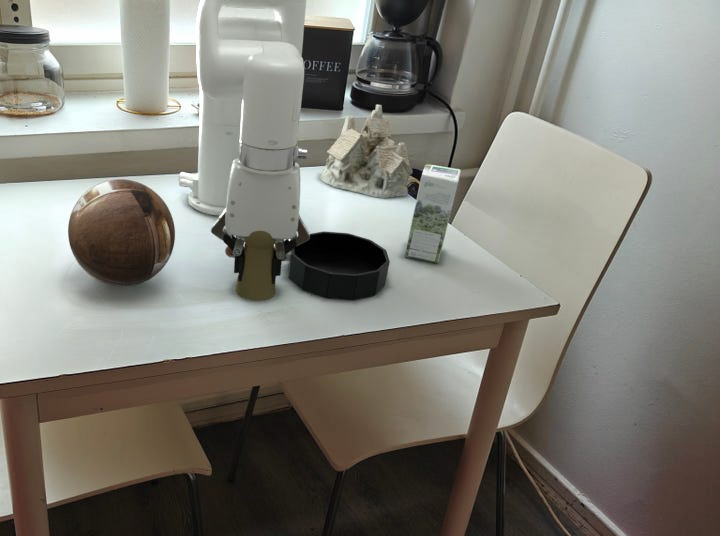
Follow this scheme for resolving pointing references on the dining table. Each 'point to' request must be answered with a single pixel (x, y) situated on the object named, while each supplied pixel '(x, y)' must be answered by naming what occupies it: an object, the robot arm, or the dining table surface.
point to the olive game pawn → (257, 268)
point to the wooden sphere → (121, 232)
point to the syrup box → (432, 212)
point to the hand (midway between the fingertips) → (256, 277)
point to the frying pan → (337, 266)
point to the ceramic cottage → (368, 159)
